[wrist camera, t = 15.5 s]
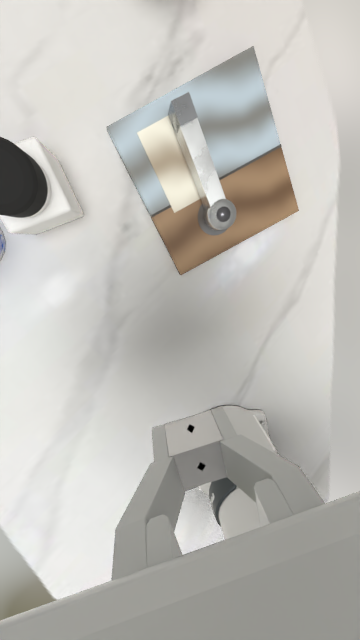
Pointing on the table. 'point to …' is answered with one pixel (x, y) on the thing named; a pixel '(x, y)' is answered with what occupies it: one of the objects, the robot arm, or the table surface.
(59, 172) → the medicine bottle
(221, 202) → the swing bar
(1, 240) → the aerosol can
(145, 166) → the door board
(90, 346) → the table surface
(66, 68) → the table surface
